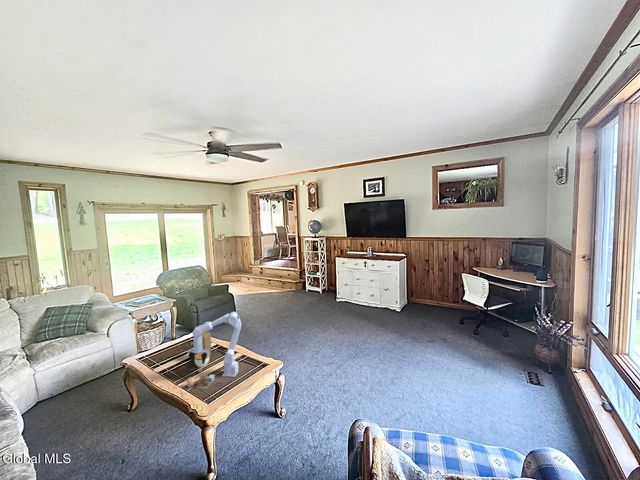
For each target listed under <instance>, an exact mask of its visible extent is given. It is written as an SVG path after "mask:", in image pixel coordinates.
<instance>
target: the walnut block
mask: <svg viewBox="0 0 640 480" xmlns="http://www.w3.org/2000/svg"><path fill="white" fill-rule="evenodd" d="M208 377H209V376H208V374H205V375H200V376H199V380H198V381H199V382H198V384H199V387H205V386H208Z"/></svg>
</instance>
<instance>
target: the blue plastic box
mask: <svg viewBox="0 0 640 480" xmlns="http://www.w3.org/2000/svg"><path fill="white" fill-rule="evenodd" d="M215 376H216V375H215V374H209V376H208V382H212V383H213V382H214V380H215V379H216V377H215Z"/></svg>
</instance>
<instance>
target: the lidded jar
mask: <svg viewBox="0 0 640 480" xmlns="http://www.w3.org/2000/svg"><path fill="white" fill-rule="evenodd" d="M202 354H203V353H199V354H196V355H195V362H194V363H195V365H196V366H197V367H198V368H203V367H207V365H208V363H209V361H210V357H211V356H210V354H209V353H208V354H207V356H206V359H205V363H204V364H202V356H201V355H202ZM209 356H210V357H209Z"/></svg>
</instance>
